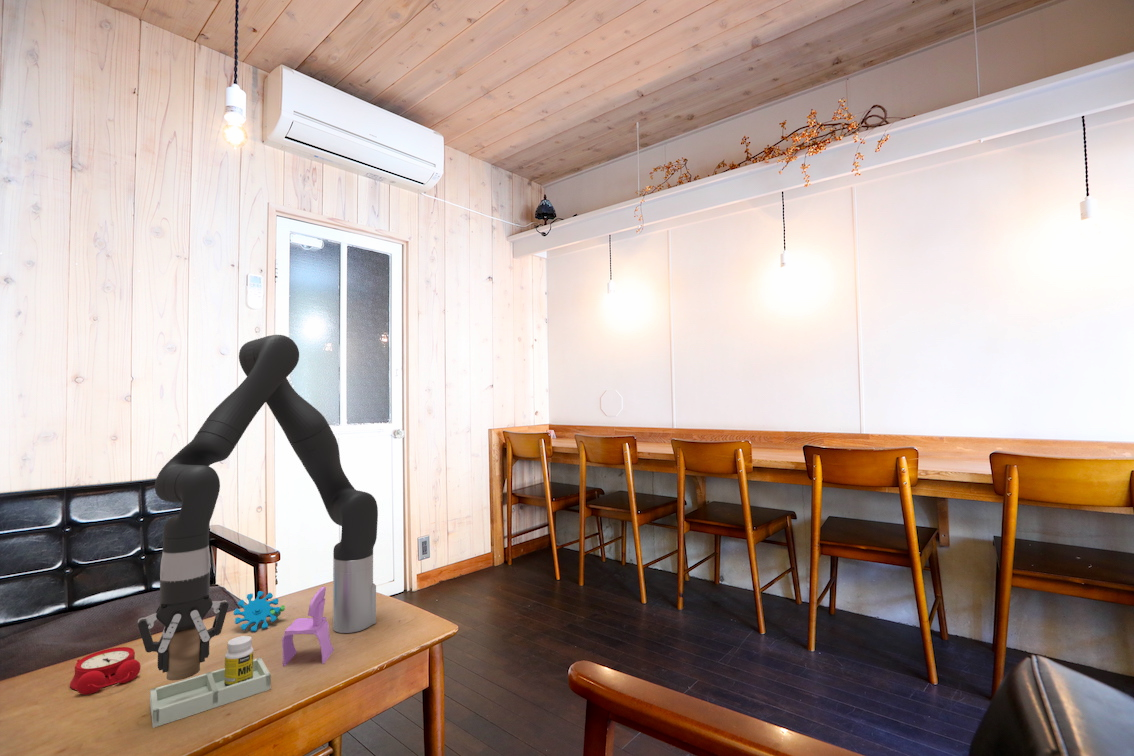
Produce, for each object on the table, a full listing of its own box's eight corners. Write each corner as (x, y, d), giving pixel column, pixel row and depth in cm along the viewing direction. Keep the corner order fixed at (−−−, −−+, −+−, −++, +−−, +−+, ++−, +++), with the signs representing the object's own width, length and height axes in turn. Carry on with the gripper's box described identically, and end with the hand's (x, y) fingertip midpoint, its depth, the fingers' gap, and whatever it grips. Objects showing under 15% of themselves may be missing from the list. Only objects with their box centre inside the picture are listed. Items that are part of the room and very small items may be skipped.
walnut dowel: (198, 663, 101) (199, 621, 101) (201, 673, 97) (202, 629, 97) (165, 672, 98) (166, 628, 98) (167, 683, 94) (168, 637, 94)
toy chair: (294, 650, 118) (295, 582, 119) (335, 647, 119) (335, 580, 120) (278, 669, 110) (279, 596, 111) (322, 666, 111) (322, 594, 112)
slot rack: (260, 671, 109) (260, 657, 109) (270, 689, 102) (270, 674, 102) (150, 705, 97) (150, 689, 98) (152, 727, 91) (153, 711, 91)
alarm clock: (131, 641, 116) (147, 646, 106) (132, 671, 115) (148, 679, 105) (66, 659, 108) (77, 666, 98) (66, 692, 107) (77, 702, 97)
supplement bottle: (238, 692, 100) (239, 647, 100) (218, 689, 101) (218, 644, 101) (258, 678, 105) (259, 635, 105) (239, 676, 106) (239, 633, 106)
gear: (229, 630, 125) (238, 590, 132) (228, 641, 128) (237, 601, 135) (281, 627, 130) (287, 589, 137) (279, 638, 133) (285, 600, 140)
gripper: (227, 560, 106) (226, 646, 105) (135, 576, 96) (132, 671, 96) (234, 569, 100) (232, 660, 99) (136, 587, 90) (133, 688, 90)
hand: (183, 665), depth 97 cm, fingers closed on walnut dowel, 5 cm apart
